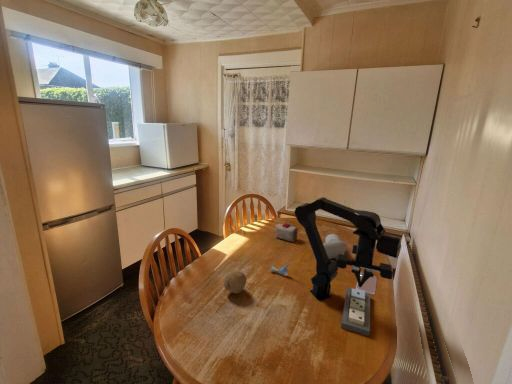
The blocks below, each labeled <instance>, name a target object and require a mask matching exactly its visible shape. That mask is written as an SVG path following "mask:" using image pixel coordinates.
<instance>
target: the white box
mask: <svg viewBox="0 0 512 384" xmlns="http://www.w3.org/2000/svg"><path fill="white" fill-rule="evenodd" d="M274 227H275V229H274V230H275V236H274V237H275V238H276V239H281V240H284V241H288V242H290V243H295V242H296V241H297V239H298V232H299V231H298V230H299V229H298V227H296V226H293V225H291V224H289V222H287V223H286V222H285V223H277V224H276V225H275V226H274Z"/></svg>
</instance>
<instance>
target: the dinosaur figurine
mask: <svg viewBox="0 0 512 384" xmlns="http://www.w3.org/2000/svg"><path fill="white" fill-rule="evenodd" d="M292 261H293V259H291V260H290V261H289V262H288V263H287V264H286V265H285V266H283V267H280V268H279V269H278V268H276V267H275V265H271V267H270V268H269V270H270V271H271V272H272V273H274V272H275V273H277V274H280V275H281V276H283V277H286V276H288V275H289V273H288V272H289V269H287V268H288V266H289V265H290V263H291V262H292Z"/></svg>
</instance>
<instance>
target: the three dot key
mask: <svg viewBox="0 0 512 384" xmlns="http://www.w3.org/2000/svg"><path fill="white" fill-rule="evenodd" d="M350 299H351V301H350V305H349V310H350V308H351V309H354V310H358V311H362V312H364V310H365V301H362V300H358V299H354V298H351V297H350Z"/></svg>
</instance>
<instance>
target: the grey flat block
mask: <svg viewBox="0 0 512 384" xmlns="http://www.w3.org/2000/svg"><path fill="white" fill-rule="evenodd" d="M351 292H352V288H351V287H346V291H345V298H344V305H343V310H342V319H341V325H340V328H341V329H345V330H347V331H351V332H354V333H357V334H361V335H364V336H365V337H370V332H371V316H370V315H371V294H370V293H367V292H365V310H364V312H365V313H364V326H362V325H359V324H355V323H352V322H349V321H348V318H349V309H350V301H351Z"/></svg>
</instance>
